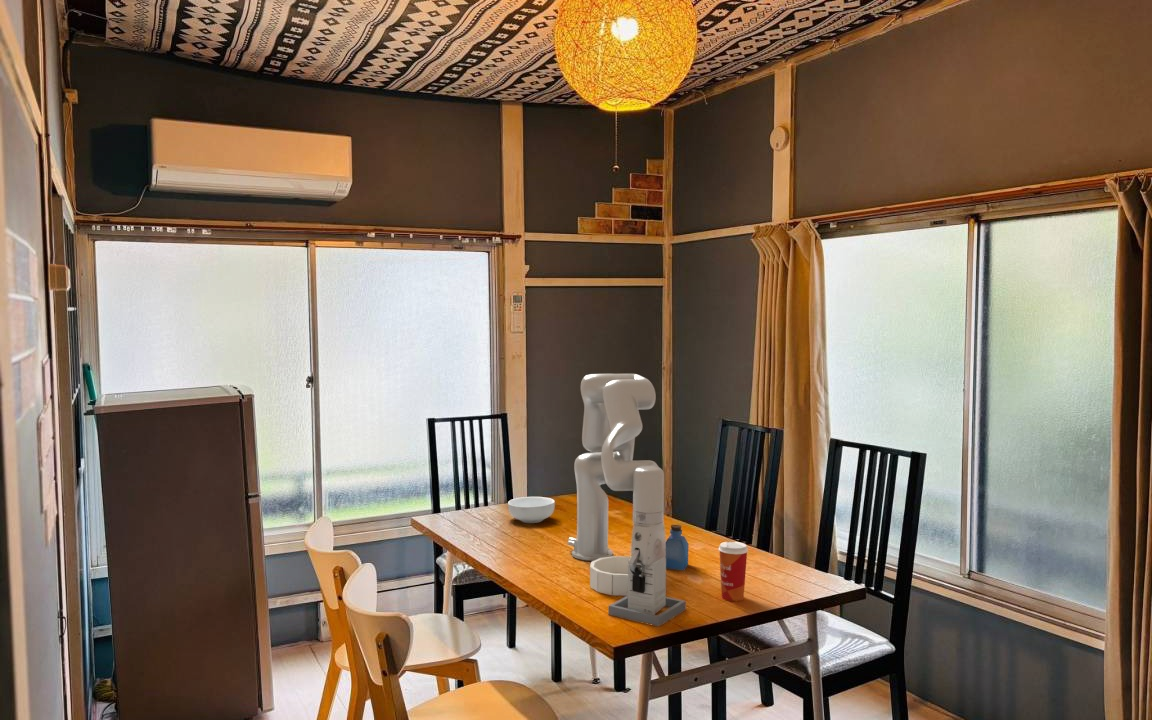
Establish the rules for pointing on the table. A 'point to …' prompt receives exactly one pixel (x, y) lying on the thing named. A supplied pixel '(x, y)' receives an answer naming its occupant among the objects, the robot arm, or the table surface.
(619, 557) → the bowl
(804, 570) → the table surface
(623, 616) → the gray square frame
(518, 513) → the cereal bowl
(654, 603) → the supplement box
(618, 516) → the table surface
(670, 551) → the perfume bottle
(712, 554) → the table surface
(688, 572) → the table surface
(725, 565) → the paper cup
